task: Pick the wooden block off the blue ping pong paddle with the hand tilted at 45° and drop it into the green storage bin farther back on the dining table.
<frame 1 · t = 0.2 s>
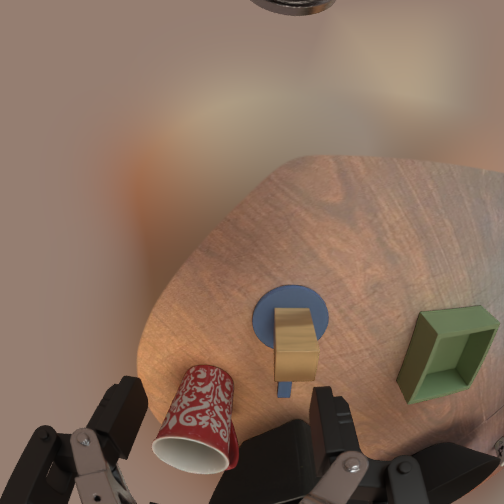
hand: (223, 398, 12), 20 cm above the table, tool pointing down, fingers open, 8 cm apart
green storage bin: (440, 344, 34), on the table
wooden block: (290, 322, 32), point 1 cm above the table, touching blue ping pong paddle
bowl: (422, 458, 46), on the table
mug: (215, 388, 38), on the table
blue ping pong paddle: (290, 318, 33), on the table
flower pot: (288, 442, 42), on the table
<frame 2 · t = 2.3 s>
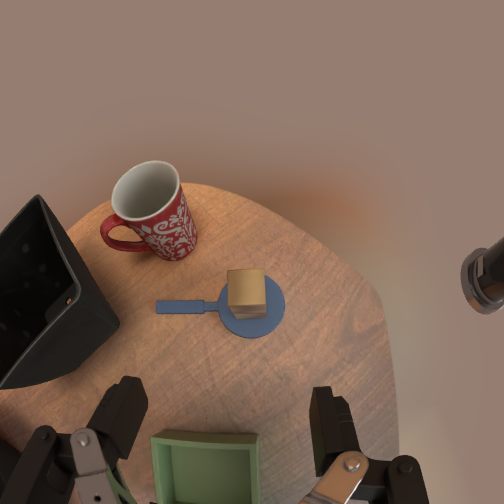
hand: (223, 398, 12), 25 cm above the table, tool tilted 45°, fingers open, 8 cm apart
green storage bin: (212, 473, 29), on the table
wooden block: (251, 304, 38), point 1 cm above the table, touching blue ping pong paddle
bowl: (22, 481, 24), on the table
mug: (166, 245, 43), on the table
blue ping pong paddle: (251, 305, 38), on the table
flower pot: (80, 318, 39), on the table
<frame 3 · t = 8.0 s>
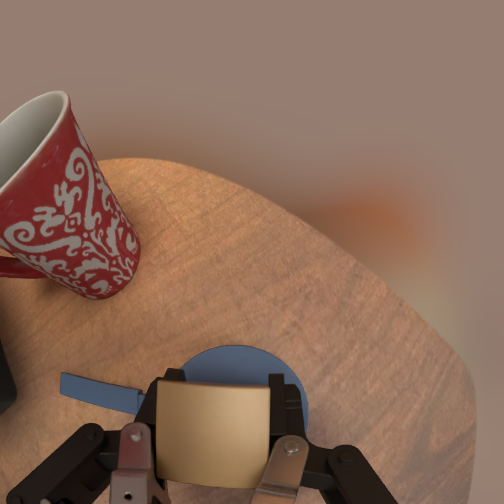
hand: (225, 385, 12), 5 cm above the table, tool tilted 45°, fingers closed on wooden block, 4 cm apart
wooden block: (234, 414, 15), point 1 cm above the table, touching gripper, blue ping pong paddle
mug: (88, 267, 21), on the table
blue ping pong paddle: (235, 412, 16), on the table
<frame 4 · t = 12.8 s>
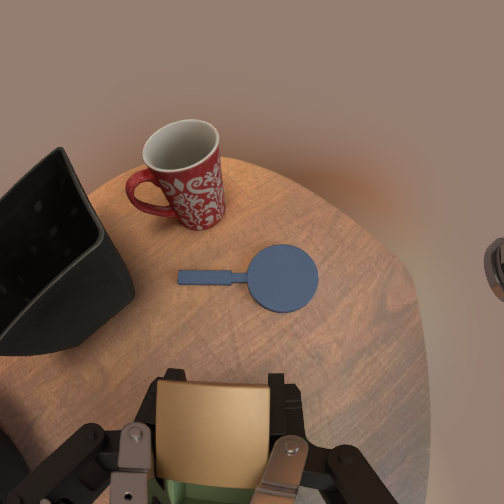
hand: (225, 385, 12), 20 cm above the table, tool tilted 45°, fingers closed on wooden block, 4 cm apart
green storage bin: (231, 465, 26), on the table
wooden block: (234, 413, 15), point 16 cm above the table, touching gripper
bowl: (9, 469, 22), on the table
mug: (191, 215, 41), on the table
blue ping pong paddle: (282, 278, 36), on the table
flower pot: (89, 289, 37), on the table
when the fingers open (9 cm above the table, at t = 17.5 s): wooden block drops 4 cm, resting on green storage bin.
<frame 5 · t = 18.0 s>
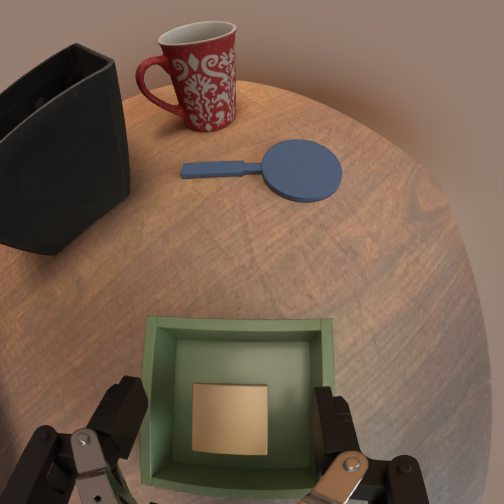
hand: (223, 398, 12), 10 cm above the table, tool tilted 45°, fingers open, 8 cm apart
green storage bin: (241, 406, 20), on the table
wooden block: (241, 407, 20), resting on green storage bin
mug: (199, 121, 36), on the table
blue ping pong paddle: (301, 170, 31), on the table
flower pot: (79, 196, 31), on the table
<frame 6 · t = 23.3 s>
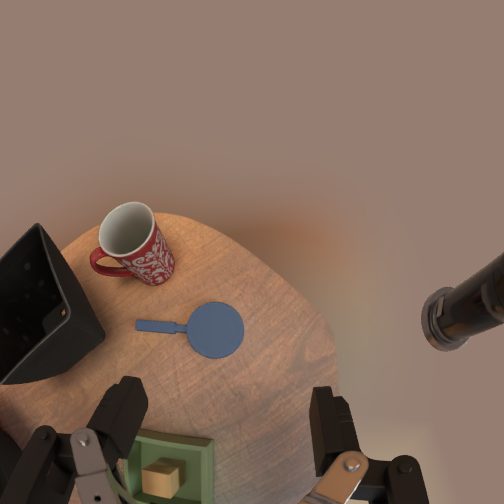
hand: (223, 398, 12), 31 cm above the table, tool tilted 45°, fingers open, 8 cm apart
green storage bin: (174, 468, 33), on the table
wooden block: (173, 469, 32), resting on green storage bin
bowl: (12, 465, 28), on the table
mug: (148, 271, 48), on the table
blue ping pong paddle: (215, 330, 43), on the table
flower pot: (72, 327, 44), on the table
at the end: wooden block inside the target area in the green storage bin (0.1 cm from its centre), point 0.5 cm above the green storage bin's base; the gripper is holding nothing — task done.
